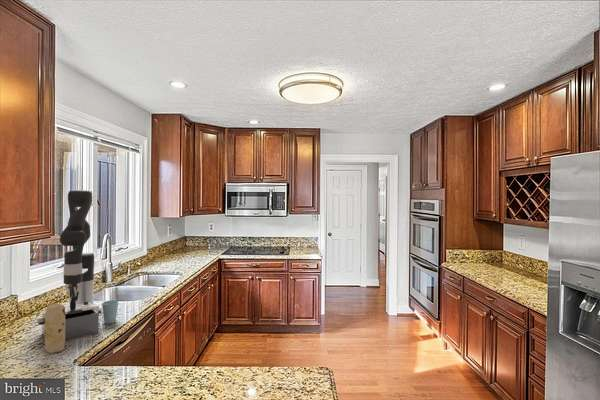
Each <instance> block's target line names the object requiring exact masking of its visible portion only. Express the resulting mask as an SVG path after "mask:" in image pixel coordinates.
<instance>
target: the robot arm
mask: <svg viewBox="0 0 600 400" xmlns="http://www.w3.org/2000/svg"><path fill="white" fill-rule="evenodd" d="M92 202H93V193H92V191H90V190H85V189H73V190H72V189H71V190H69V191H68V193H67V204H68V210H69V218H68V220H67V221H68V222H67V225H66V227H65V228H64V229H63V231H62V232H61V234H60V236H59V243H60V244H61V245H62V246H63V247H72V249H70V250H68V251H65V252H64V258H63V259H64V261H63V262H64V263H63V264H64V266H63V284H64V285H68V286H67V287H66V288H67V289H66V290H67V297H68V298H67V299H68V302H69V306H70V309H71V310H73V309H76V305H78V304H84V302H85V301H88V303H89V302H90V303H93V304H95V303H94V295H95V293H94V290H95V289H94V288H95V284H94V282H95V280H94V279H95V278H94V277H95V275H94V274H95V273H94V272H95V269H94V268H95V254H94V253H93V252H83V251H84V247H85V244H86V243H87V242H88V241H89V239H90V238H91V226H90V223H89V222H88V221H87V220H86V219H87V217H88V214H89V212H90V209H91V206H92V204H93V203H92ZM85 269H86V270H85ZM83 270H85V271H84V272H83Z"/></svg>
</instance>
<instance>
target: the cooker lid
mask: <svg viewBox="0 0 600 400" xmlns="http://www.w3.org/2000/svg"><path fill="white" fill-rule="evenodd" d="M64 307H65V314H74V313H79V312H82V311H85V310H90V309H96V308H99V309H100V306H99V305H98V304H95V303H94V304H93V303H90V302H89V303H88V301H85V302H84V304H78V305H76V309H73V310H71V309H70V305H67V306H64ZM46 310H47V309H44V310H41V314H42V313H43V314H44V315H45V312H46Z"/></svg>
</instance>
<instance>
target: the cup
mask: <svg viewBox="0 0 600 400" xmlns="http://www.w3.org/2000/svg"><path fill="white" fill-rule="evenodd" d="M101 304H102V305H101V306H102V307H101V308H102V315H103V323H104V324H113V323H116V321H117V313H118V307H119V300H116V299H115V300H113V299H112V300H111V299H110V300H106V301H103V302H102V303H101Z"/></svg>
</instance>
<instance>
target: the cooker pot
mask: <svg viewBox="0 0 600 400" xmlns="http://www.w3.org/2000/svg"><path fill="white" fill-rule="evenodd" d="M41 314H42V318H38V319H36V322H37V324H38V325H39V326H42V327H41V328H42V331H41V332H42V335H44V336H43V338H45V315H44V314H43V313H42V312H41ZM100 314H103V310H101V309H100V307H99V308H96V309H90V310H85V311H82V312H79V313H74V314H65V342H67V341H72V340H76V339H81V338H84V337H90V336H93V335H97V334H99V323H100V321H99V317H100V316H99V315H100Z"/></svg>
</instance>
